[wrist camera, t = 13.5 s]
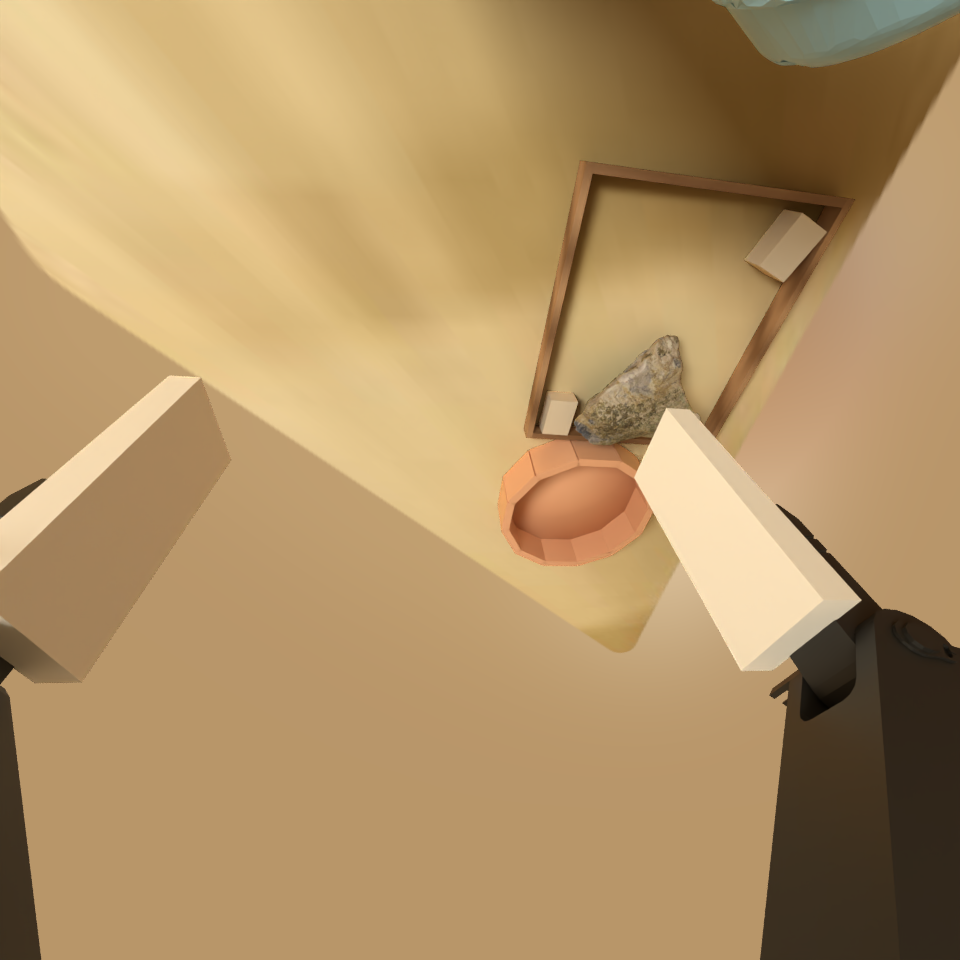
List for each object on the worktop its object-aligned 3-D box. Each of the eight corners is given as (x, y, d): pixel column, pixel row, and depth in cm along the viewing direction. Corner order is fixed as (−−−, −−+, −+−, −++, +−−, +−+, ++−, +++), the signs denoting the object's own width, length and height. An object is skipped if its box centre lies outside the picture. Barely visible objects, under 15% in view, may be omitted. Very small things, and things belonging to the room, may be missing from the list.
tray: (580, 160, 29) (586, 161, 28) (837, 196, 32) (855, 199, 30) (523, 428, 44) (526, 437, 43) (701, 438, 46) (709, 447, 45)
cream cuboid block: (546, 389, 41) (551, 400, 40) (572, 391, 42) (578, 402, 40) (538, 422, 44) (542, 433, 42) (562, 424, 44) (567, 435, 43)
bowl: (511, 431, 44) (516, 456, 41) (662, 440, 46) (679, 463, 43) (491, 538, 56) (494, 564, 52) (613, 541, 58) (623, 566, 54)
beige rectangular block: (782, 208, 32) (802, 212, 30) (806, 227, 33) (827, 232, 31) (742, 259, 34) (759, 266, 33) (766, 275, 35) (783, 282, 34)
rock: (683, 328, 35) (715, 432, 37) (652, 338, 41) (682, 428, 43) (564, 380, 36) (602, 480, 38) (551, 383, 42) (584, 469, 44)
